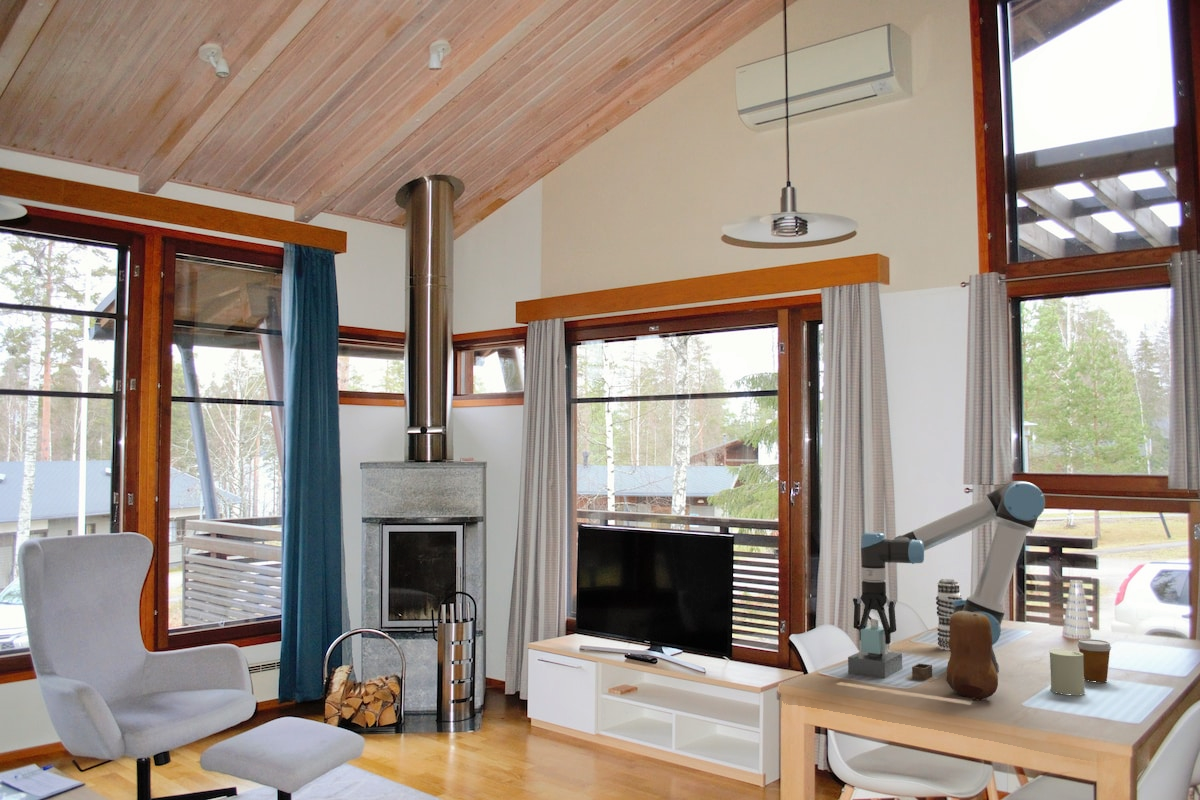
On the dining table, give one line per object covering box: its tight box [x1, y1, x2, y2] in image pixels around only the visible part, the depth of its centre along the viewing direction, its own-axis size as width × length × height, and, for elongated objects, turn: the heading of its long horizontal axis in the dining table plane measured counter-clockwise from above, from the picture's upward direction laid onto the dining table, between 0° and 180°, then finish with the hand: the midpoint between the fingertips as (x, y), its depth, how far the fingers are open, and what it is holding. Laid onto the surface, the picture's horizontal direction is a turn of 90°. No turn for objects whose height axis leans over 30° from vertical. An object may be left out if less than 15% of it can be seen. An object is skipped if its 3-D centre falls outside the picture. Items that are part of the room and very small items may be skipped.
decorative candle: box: [935, 578, 963, 651], centre depth 338 cm, size 9×9×25 cm
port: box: [847, 651, 903, 679], centre depth 297 cm, size 12×16×6 cm
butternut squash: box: [945, 611, 999, 701], centre depth 267 cm, size 14×13×25 cm
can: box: [1049, 649, 1086, 696], centre depth 275 cm, size 9×9×12 cm
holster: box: [905, 663, 939, 683], centre depth 288 cm, size 8×8×4 cm
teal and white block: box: [860, 618, 890, 658], centre depth 298 cm, size 6×9×14 cm, turn 143°
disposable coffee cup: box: [1077, 638, 1112, 683], centre depth 289 cm, size 10×10×12 cm
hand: (875, 652), depth 298 cm, fingers closed on teal and white block, 6 cm apart
